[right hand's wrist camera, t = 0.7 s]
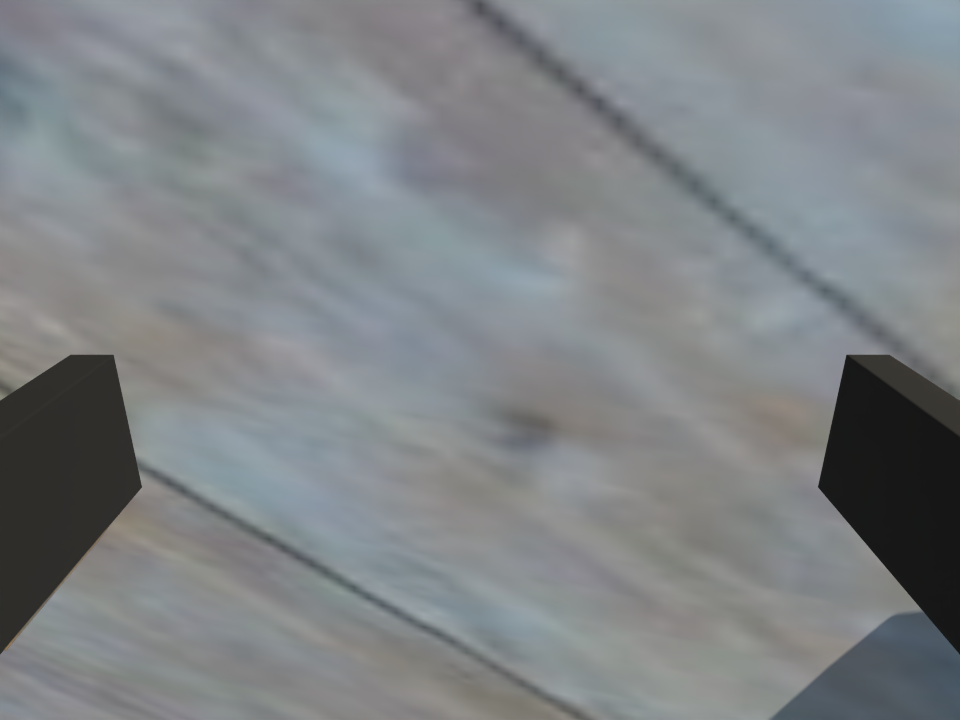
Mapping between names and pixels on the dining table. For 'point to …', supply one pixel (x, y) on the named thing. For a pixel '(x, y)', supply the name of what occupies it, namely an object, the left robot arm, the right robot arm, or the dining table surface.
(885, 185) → the dining table surface
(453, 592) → the dining table surface
